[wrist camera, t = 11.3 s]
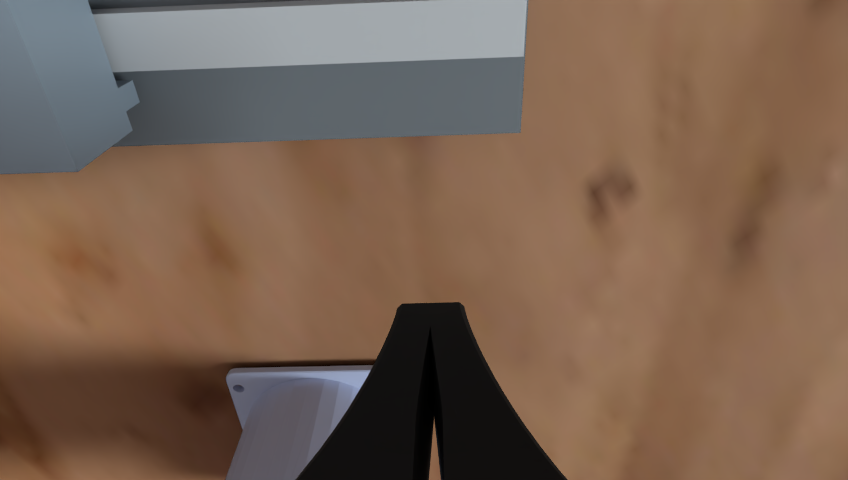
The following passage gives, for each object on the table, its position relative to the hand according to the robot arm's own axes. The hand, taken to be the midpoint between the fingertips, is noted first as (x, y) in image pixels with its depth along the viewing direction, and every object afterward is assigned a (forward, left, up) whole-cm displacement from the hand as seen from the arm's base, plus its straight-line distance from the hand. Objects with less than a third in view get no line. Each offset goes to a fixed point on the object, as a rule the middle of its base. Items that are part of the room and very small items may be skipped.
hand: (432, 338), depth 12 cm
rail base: (+5, +7, -9) cm, 13 cm away
